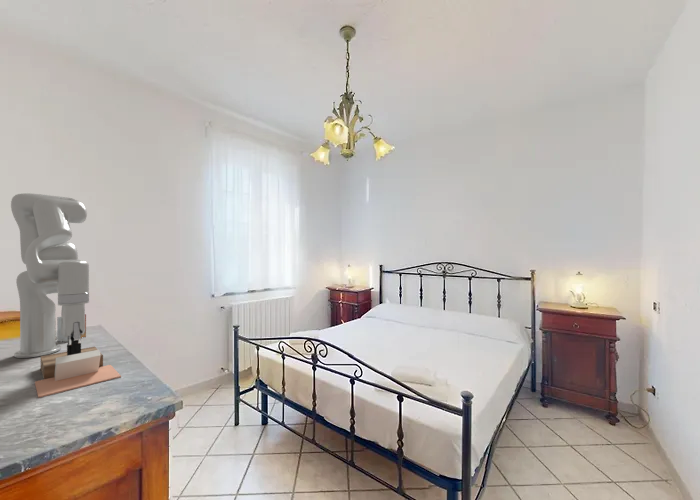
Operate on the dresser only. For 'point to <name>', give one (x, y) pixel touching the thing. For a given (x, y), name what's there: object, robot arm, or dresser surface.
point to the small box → (59, 335)
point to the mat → (75, 381)
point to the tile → (77, 364)
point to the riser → (50, 361)
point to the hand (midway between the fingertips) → (74, 356)
